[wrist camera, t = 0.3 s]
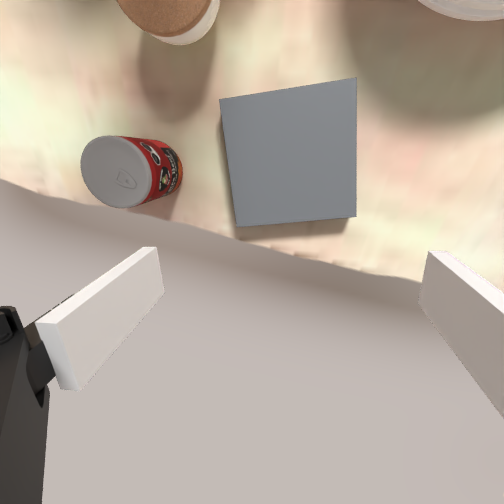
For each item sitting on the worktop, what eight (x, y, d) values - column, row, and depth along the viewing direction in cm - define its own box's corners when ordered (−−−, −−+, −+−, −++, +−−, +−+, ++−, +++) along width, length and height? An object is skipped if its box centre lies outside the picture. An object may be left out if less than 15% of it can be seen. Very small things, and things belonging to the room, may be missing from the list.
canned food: (180, 201, 42) (145, 217, 31) (129, 187, 42) (78, 197, 32) (188, 148, 39) (153, 146, 29) (134, 133, 39) (80, 126, 29)
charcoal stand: (224, 103, 36) (219, 99, 34) (350, 83, 34) (356, 77, 31) (240, 222, 42) (236, 227, 39) (351, 212, 39) (356, 216, 36)
